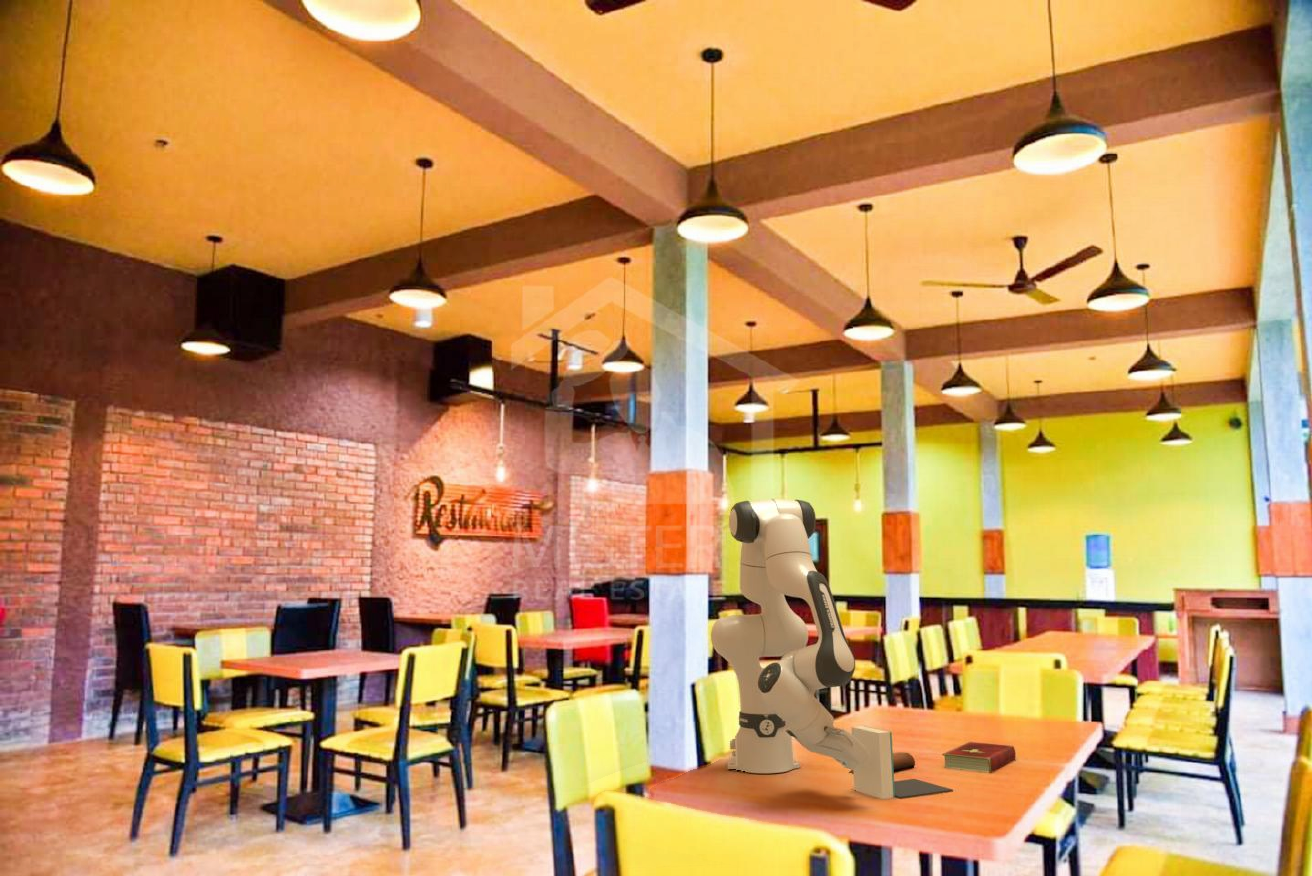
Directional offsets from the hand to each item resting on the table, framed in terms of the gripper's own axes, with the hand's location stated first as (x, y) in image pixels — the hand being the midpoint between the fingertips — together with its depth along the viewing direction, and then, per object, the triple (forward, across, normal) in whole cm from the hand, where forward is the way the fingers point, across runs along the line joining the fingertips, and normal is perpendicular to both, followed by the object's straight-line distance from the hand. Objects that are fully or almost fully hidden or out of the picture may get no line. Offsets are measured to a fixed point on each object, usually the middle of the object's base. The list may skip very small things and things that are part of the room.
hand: (851, 766), depth 202 cm
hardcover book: (+41, +15, -31) cm, 54 cm away
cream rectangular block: (+9, 0, 0) cm, 9 cm away
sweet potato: (+22, +20, -12) cm, 31 cm away
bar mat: (+15, 0, -6) cm, 17 cm away
